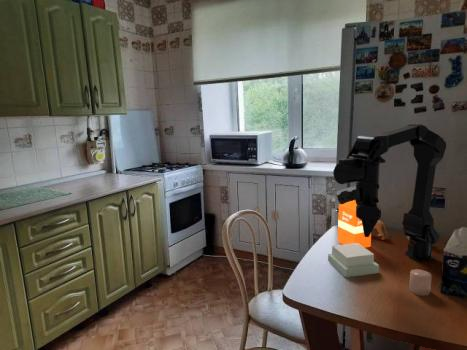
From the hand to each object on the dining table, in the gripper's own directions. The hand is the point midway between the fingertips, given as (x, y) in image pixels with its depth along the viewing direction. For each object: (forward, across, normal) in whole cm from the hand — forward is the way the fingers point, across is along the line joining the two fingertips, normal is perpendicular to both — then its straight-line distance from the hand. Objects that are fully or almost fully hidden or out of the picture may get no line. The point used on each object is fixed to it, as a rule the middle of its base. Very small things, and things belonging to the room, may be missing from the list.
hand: (365, 231), depth 99 cm
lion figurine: (+14, -32, +3) cm, 35 cm away
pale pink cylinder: (+14, +6, +14) cm, 20 cm away
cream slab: (+11, -4, -4) cm, 12 cm away
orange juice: (+14, -22, -3) cm, 26 cm away
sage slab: (+14, -3, -3) cm, 15 cm away
